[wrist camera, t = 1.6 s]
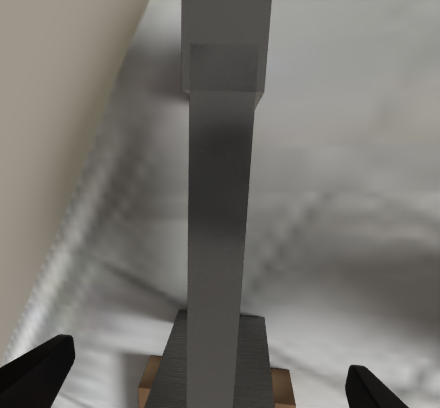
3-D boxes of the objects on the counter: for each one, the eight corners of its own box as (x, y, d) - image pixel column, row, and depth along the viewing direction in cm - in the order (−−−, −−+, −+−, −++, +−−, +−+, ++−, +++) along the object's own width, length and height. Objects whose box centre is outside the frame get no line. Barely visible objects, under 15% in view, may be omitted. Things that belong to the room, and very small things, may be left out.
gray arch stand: (291, 59, 16) (334, -7, 8) (262, 332, 22) (273, 444, 14) (178, 56, 17) (123, -8, 9) (178, 324, 22) (144, 428, 14)
